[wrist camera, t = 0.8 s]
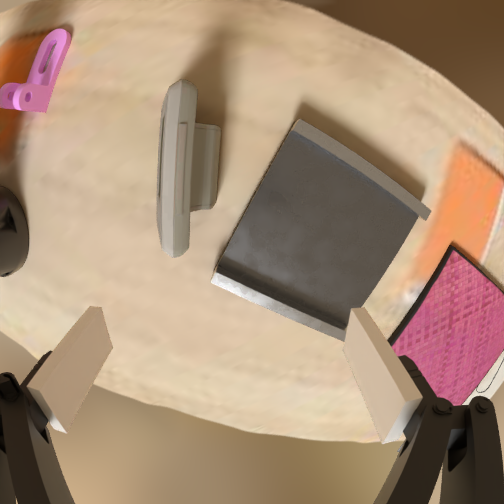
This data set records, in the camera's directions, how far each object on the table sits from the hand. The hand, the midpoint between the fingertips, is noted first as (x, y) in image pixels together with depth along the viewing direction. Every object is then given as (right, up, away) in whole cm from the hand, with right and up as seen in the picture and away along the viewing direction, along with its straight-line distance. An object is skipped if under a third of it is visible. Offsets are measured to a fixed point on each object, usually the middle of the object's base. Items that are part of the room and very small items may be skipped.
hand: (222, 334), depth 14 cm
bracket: (-28, +31, +12) cm, 43 cm away
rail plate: (+10, +6, +21) cm, 24 cm away
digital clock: (-7, +14, +18) cm, 24 cm away
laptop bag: (+43, -14, +29) cm, 54 cm away
